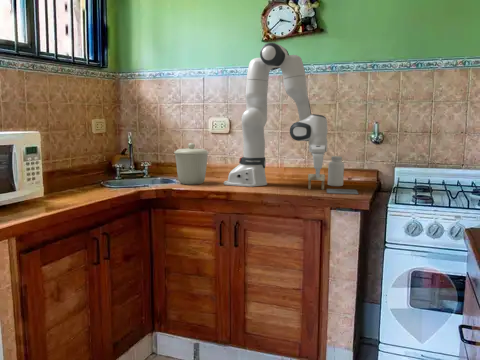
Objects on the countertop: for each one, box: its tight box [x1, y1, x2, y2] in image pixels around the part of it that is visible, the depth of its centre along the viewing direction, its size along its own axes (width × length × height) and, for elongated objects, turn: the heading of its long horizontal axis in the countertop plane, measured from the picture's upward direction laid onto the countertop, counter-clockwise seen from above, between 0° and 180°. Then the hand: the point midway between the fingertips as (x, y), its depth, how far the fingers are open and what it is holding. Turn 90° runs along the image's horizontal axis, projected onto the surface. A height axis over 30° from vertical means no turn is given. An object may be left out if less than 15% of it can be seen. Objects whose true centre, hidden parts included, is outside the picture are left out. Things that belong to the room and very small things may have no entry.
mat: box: [326, 188, 359, 195], centre depth 216 cm, size 14×12×1 cm
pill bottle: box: [327, 155, 345, 187], centre depth 237 cm, size 8×8×15 cm
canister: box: [173, 142, 210, 186], centre depth 238 cm, size 18×18×21 cm
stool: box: [307, 173, 326, 191], centre depth 225 cm, size 8×5×7 cm, turn 81°
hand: (317, 176), depth 224 cm, fingers open, 8 cm apart
